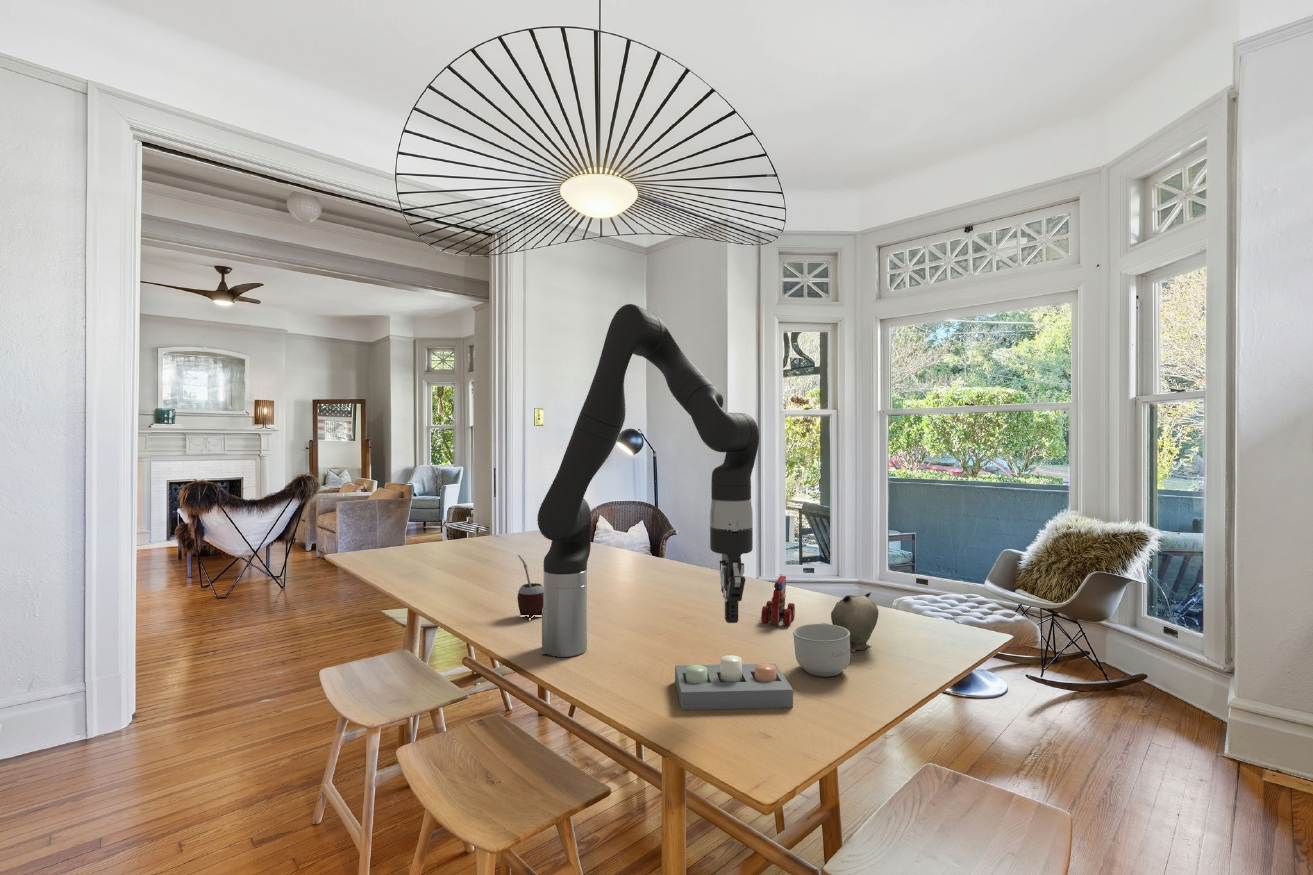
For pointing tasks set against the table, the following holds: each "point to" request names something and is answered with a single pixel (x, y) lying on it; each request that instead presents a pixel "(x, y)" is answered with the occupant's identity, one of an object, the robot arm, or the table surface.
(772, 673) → the terracotta button
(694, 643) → the table surface
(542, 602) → the mate gourd
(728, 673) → the cream button
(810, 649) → the teacup
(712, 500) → the robot arm
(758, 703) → the console
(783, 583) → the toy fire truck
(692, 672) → the sage button
